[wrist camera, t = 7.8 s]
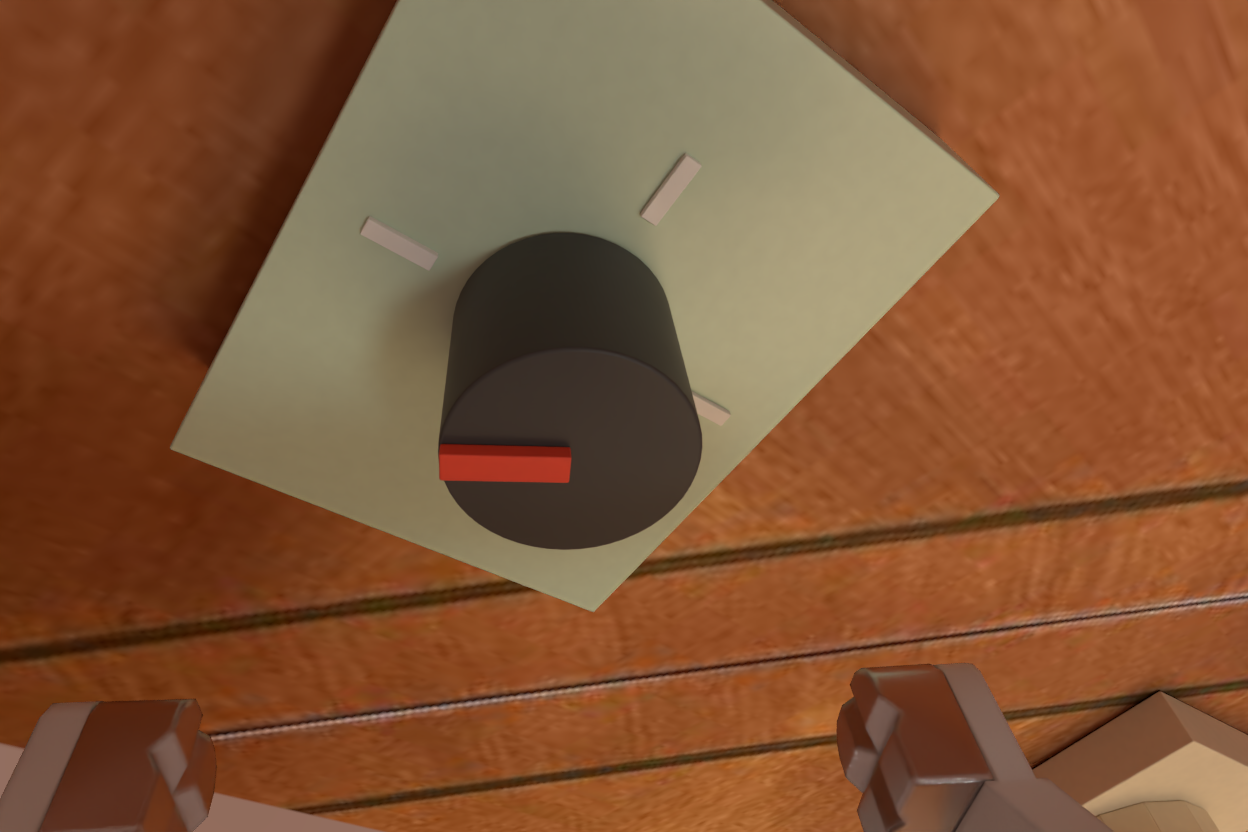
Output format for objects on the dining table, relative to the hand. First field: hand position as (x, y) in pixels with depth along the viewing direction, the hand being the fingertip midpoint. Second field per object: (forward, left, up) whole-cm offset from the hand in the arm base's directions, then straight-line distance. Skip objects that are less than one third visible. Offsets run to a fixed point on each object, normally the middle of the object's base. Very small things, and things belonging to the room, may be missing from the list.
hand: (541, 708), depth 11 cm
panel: (+1, 0, -12) cm, 12 cm away
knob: (+1, 0, -9) cm, 9 cm away
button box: (-8, -34, -12) cm, 37 cm away
